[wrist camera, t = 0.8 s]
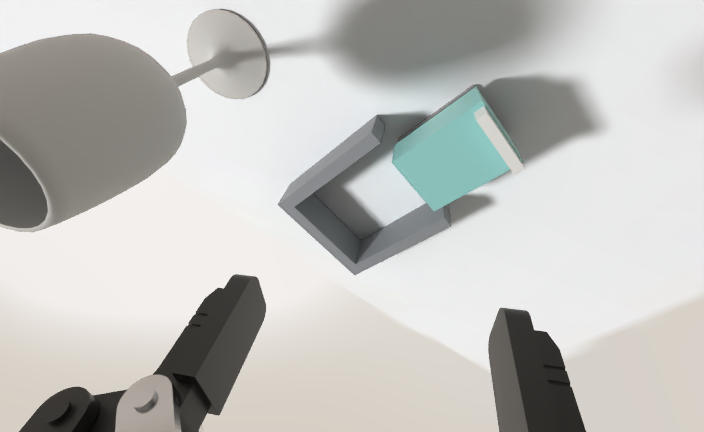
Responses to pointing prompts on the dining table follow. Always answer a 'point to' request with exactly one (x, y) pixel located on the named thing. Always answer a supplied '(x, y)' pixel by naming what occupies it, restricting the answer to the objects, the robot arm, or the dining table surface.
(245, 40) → the wineglass
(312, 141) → the dining table surface
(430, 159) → the teal box with handle
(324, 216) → the bay
